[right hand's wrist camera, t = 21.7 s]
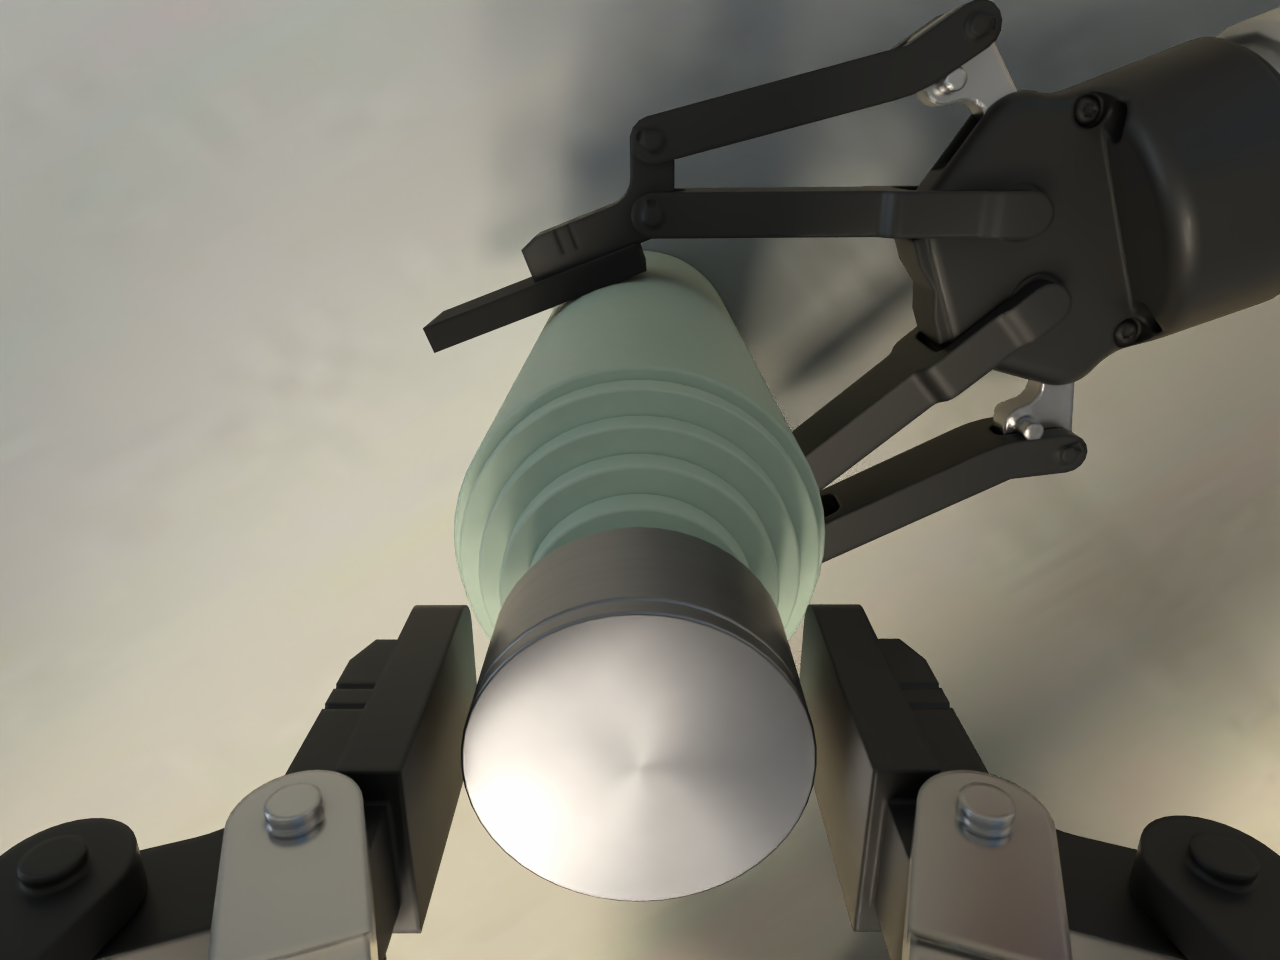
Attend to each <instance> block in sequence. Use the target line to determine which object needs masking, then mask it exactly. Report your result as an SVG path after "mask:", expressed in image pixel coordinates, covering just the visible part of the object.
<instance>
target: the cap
mask: <svg viewBox="0 0 1280 960" xmlns="http://www.w3.org/2000/svg"><path fill="white" fill-rule="evenodd" d="M816 766H817V745H816V739H815V733H814V727H813V723H812V720H811V717H810V714H809V710H808V707H807V703H806V700H805V697H804V693H803V690H802V687H801V683H800V680H799V677H798V673H797V670H796V667H795V663H794V660H793V656H792V653H791V650H790V646H789V643H788V640H787V636H786V633H785V630H784V626H783V623H782V620H781V617H780V614H779V611H778V609H777V607H776V605H775V603H774V601H773V599H772V598H771V596H770V594H769V593H768V591H767V590H766V589H765V587H764V586H763V584H762V583H761V581H760V580H759V579H758V578H757V577H756V576H755V575H754V574H753V573H752V572H751V571H750V570H749V569H748V568H747V567H746V566H745V565H744V564H742V563H741V562H740V561H739V560H737V559H736V558H735V557H734V556H732V555H731V554H729V553H727V552H726V551H724V550H722V549H721V548H719V547H718V546H716V545H714V544H711V543H709V542H707V541H705V540H702V539H700V538H698V537H695V536H691V535H688V534H685V533H681V532H678V531H672V530H667V529H661V528H648V527H629V528H617V529H611V530H606V531H601V532H596V533H593V534H590V535H587V536H584V537H581V538H578V539H576V540H573V541H571V542H569V543H567V544H565V545H563V546H560V547H559V548H557V549H556V550H554V551H552V552H551V553H549V554H548V555H546V556H544V557H543V558H542V559H541V560H539V561H538V562H537V563H536V564H535V565H533V566H532V567H531V568H530V569H529V570H528V571H527V572H526V573H525V574H524V575H523V576H522V577H521V578H520V580H519V581H518V582H517V583H516V584H515V586H514V587H513V589H512V590H511V592H510V593H509V595H508V596H507V598H506V600H505V602H504V604H503V606H502V608H501V610H500V612H499V615H498V618H497V621H496V625H495V628H494V631H493V634H492V638H491V641H490V644H489V647H488V651H487V654H486V657H485V660H484V664H483V667H482V670H481V674H480V677H479V680H478V683H477V687H476V690H475V693H474V696H473V700H472V703H471V706H470V710H469V713H468V716H467V719H466V723H465V726H464V729H463V736H462V743H461V769H462V774H463V780H464V785H465V788H466V791H467V794H468V797H469V800H470V803H471V805H472V807H473V809H474V811H475V813H476V815H477V817H478V819H479V821H480V822H481V824H482V825H483V827H484V828H485V829H486V831H487V832H488V833H489V835H490V836H491V838H492V839H493V840H494V841H495V842H496V843H497V844H498V845H499V846H500V847H501V848H502V849H503V850H504V851H505V852H506V853H507V854H508V855H509V856H511V857H512V858H513V859H514V860H515V861H517V862H518V863H519V864H520V865H522V866H523V867H525V868H526V869H528V870H530V871H531V872H533V873H534V874H536V875H537V876H539V877H541V878H543V879H545V880H547V881H549V882H552V883H554V884H556V885H558V886H561V887H563V888H566V889H569V890H572V891H574V892H577V893H582V894H586V895H590V896H594V897H598V898H605V899H612V900H618V901H658V900H667V899H673V898H680V897H685V896H689V895H693V894H696V893H700V892H704V891H707V890H709V889H712V888H715V887H717V886H720V885H723V884H725V883H727V882H729V881H731V880H733V879H735V878H737V877H739V876H741V875H742V874H744V873H745V872H747V871H748V870H750V869H752V868H753V867H755V866H756V865H758V864H759V863H760V862H761V861H763V860H764V859H765V858H766V857H767V856H769V855H770V854H771V853H772V852H773V851H774V850H775V849H776V848H777V847H778V846H779V845H780V844H781V843H782V842H783V841H784V840H785V838H786V837H787V836H788V835H789V833H790V832H791V831H792V829H793V828H794V826H795V825H796V823H797V822H798V821H799V819H800V817H801V815H802V813H803V811H804V809H805V807H806V805H807V803H808V800H809V796H810V793H811V790H812V787H813V784H814V779H815V772H816Z"/></svg>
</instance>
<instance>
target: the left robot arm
mask: <svg viewBox="0 0 1280 960" xmlns="http://www.w3.org/2000/svg"><path fill="white" fill-rule="evenodd" d="M1001 25H1002V18H1001V14H1000V10H999V9H998V8H997V6H996V5H995V4H994V3H993V2H991V1H989V0H974V1H971V2H969V3H967V4H964V5H961V6H959V7H957V8H955V9H952V10H950V11H948V12H946V13H944V14H942V15H939V16H937V17H936V18H934V19H933V20H931V21H930V22H928V23H927V24H926V25H924V26H923V27H921V28H920V29H919V30H917V31H916V32H914V33H913V34H911V35H910V36H909V37H907V38H906V39H904V40H903V41H902V42H900V43H899V44H897V45H896V46H894V47H893V48H892V49H890V50H888V51H885V52H881V53H877V54H874V55H870V56H866V57H863V58H859V59H855V60H852V61H848V62H844V63H841V64H837V65H833V66H830V67H826V68H822V69H819V70H815V71H811V72H808V73H804V74H800V75H797V76H793V77H789V78H786V79H782V80H778V81H775V82H771V83H767V84H764V85H760V86H757V87H753V88H749V89H746V90H742V91H738V92H735V93H731V94H727V95H724V96H720V97H716V98H713V99H709V100H705V101H702V102H698V103H694V104H691V105H687V106H683V107H680V108H676V109H672V110H669V111H665V112H661V113H658V114H654V115H650V116H647V117H645V118H643V119H641V120H639V121H638V122H637V123H636V125H635V126H634V127H633V129H632V132H631V135H630V185H629V188H628V190H627V192H626V193H625V195H624V196H623V197H622V198H621V199H620V200H618V201H616V202H614V203H612V204H610V205H607V206H605V207H602V208H600V209H597V210H595V211H592V212H590V213H587V214H585V215H582V216H580V217H577V218H575V219H572V220H570V221H567V222H565V223H562V224H560V225H557V226H555V227H552V228H550V229H547V230H545V231H542V232H540V233H539V234H538V235H536V236H535V237H534V238H533V239H532V240H531V241H530V242H529V243H528V244H527V245H526V246H525V247H524V248H523V249H522V250H521V251H522V253H523V255H524V258H525V260H526V263H527V265H528V267H529V270H530V272H531V275H532V277H530V278H527V279H525V280H522V281H520V282H517V283H514V284H512V285H509V286H507V287H504V288H502V289H499V290H497V291H494V292H492V293H489V294H486V295H484V296H481V297H479V298H476V299H474V300H471V301H469V302H466V303H463V304H461V305H458V306H456V307H453V308H451V309H448V310H446V311H443V312H442V313H441V314H440V315H438V316H437V317H436V318H435V319H434V320H432V321H431V322H430V323H429V324H428V325H427V326H425V327H424V328H423V330H424V332H425V334H426V336H427V338H428V340H429V342H430V344H431V347H432V349H433V351H434V353H435V352H438V351H441V350H443V349H446V348H448V347H451V346H454V345H456V344H459V343H461V342H464V341H467V340H469V339H472V338H474V337H477V336H479V335H482V334H485V333H487V332H490V331H492V330H495V329H498V328H500V327H503V326H505V325H508V324H511V323H513V322H516V321H518V320H521V319H524V318H526V317H529V316H531V315H534V314H537V313H539V312H542V311H544V310H547V309H550V308H552V307H555V306H557V305H560V304H562V303H565V302H568V301H570V300H573V299H575V298H578V297H581V296H583V295H586V294H588V293H591V292H593V291H595V290H598V289H601V288H604V287H607V286H609V285H612V284H614V283H617V282H620V281H622V280H625V279H627V278H630V277H632V276H635V275H638V274H640V273H643V272H645V271H647V268H646V258H645V255H644V252H643V250H642V247H641V244H640V243H641V242H644V241H647V240H649V239H652V238H653V239H662V238H792V237H883V238H894V239H895V243H896V246H897V250H898V254H899V258H900V260H901V261H902V263H903V265H904V267H905V268H906V270H907V272H908V273H909V275H910V277H911V278H912V281H913V302H912V308H913V311H914V315H915V319H916V323H917V327H916V328H914V329H913V330H912V331H911V332H909V333H908V334H907V335H906V336H904V337H903V338H902V339H901V340H900V341H898V342H897V343H896V345H895V346H894V347H893V350H892V352H891V353H890V355H889V356H887V357H886V358H885V359H884V360H883V361H881V362H880V363H879V364H877V365H876V366H875V367H874V368H872V369H871V370H870V371H869V372H867V373H866V374H865V375H863V376H862V377H861V378H860V379H858V380H857V381H856V382H855V383H853V384H852V385H851V386H850V387H848V388H847V389H846V390H844V391H843V392H842V393H841V394H839V395H838V396H837V397H836V398H834V399H833V400H832V401H830V402H829V403H828V404H827V405H825V406H824V407H823V408H822V409H820V410H819V411H818V412H816V413H815V414H814V415H813V416H811V417H810V418H809V419H808V420H806V421H805V422H804V423H802V424H801V425H800V426H799V427H797V428H796V429H795V430H794V431H792V433H793V435H794V437H795V439H796V441H797V443H798V445H799V446H800V448H801V450H802V452H803V454H804V456H805V458H806V460H807V462H808V463H809V465H810V467H811V470H812V473H813V475H814V478H815V480H816V483H817V485H818V488H819V492H820V497H821V501H822V506H823V510H824V523H825V543H824V555H823V560H822V563H823V562H825V561H828V560H830V559H832V558H834V557H837V556H839V555H841V554H843V553H846V552H848V551H850V550H852V549H855V548H857V547H859V546H861V545H863V544H866V543H868V542H870V541H872V540H875V539H877V538H879V537H881V536H884V535H886V534H888V533H890V532H893V531H895V530H897V529H899V528H902V527H904V526H906V525H908V524H911V523H913V522H915V521H917V520H920V519H922V518H924V517H926V516H929V515H931V514H933V513H935V512H937V511H940V510H942V509H944V508H946V507H949V506H951V505H953V504H955V503H958V502H960V501H962V500H964V499H967V498H969V497H971V496H973V495H976V494H978V493H980V492H982V491H985V490H987V489H989V488H991V487H994V486H996V485H998V484H1000V483H1003V482H1005V481H1007V480H1009V479H1014V478H1022V477H1031V476H1039V475H1048V474H1056V473H1065V472H1069V471H1072V470H1075V469H1076V468H1077V467H1079V466H1080V465H1081V464H1082V463H1083V461H1084V460H1085V458H1086V454H1087V446H1086V444H1085V442H1084V441H1083V439H1081V438H1080V437H1078V436H1077V435H1075V434H1074V433H1072V429H1071V428H1072V411H1073V393H1074V382H1075V381H1077V380H1079V379H1081V378H1083V377H1084V376H1085V375H1087V374H1088V373H1089V372H1090V371H1091V370H1092V369H1093V368H1094V367H1095V366H1096V365H1097V364H1098V363H1100V362H1101V361H1102V360H1103V359H1105V358H1106V357H1107V356H1109V355H1110V354H1112V353H1114V352H1116V351H1117V350H1120V349H1122V348H1125V347H1129V346H1133V345H1137V344H1141V343H1144V342H1148V341H1152V340H1155V339H1159V338H1162V337H1165V336H1168V335H1171V334H1173V333H1176V332H1179V331H1182V330H1185V329H1188V328H1191V327H1194V326H1196V325H1199V324H1202V323H1205V322H1208V321H1211V320H1214V319H1217V318H1219V317H1222V316H1225V315H1228V314H1231V313H1234V312H1237V311H1240V310H1242V309H1245V308H1248V307H1251V306H1254V305H1257V304H1260V303H1263V302H1265V301H1268V300H1270V299H1272V298H1274V297H1275V296H1277V295H1279V294H1280V7H1278V8H1276V9H1273V10H1270V11H1268V12H1265V13H1262V14H1260V15H1257V16H1255V17H1252V18H1249V19H1247V20H1244V21H1242V22H1239V23H1237V24H1234V25H1231V26H1229V27H1227V28H1226V29H1225V30H1224V31H1222V32H1221V33H1220V34H1219V35H1217V36H1216V37H1203V38H1197V39H1194V40H1191V41H1188V42H1185V43H1183V44H1180V45H1178V46H1175V47H1173V48H1170V49H1167V50H1165V51H1162V52H1160V53H1157V54H1155V55H1152V56H1149V57H1147V58H1144V59H1142V60H1139V61H1137V62H1134V63H1131V64H1129V65H1126V66H1124V67H1121V68H1119V69H1116V70H1114V71H1111V72H1108V73H1106V74H1103V75H1101V76H1098V77H1096V78H1093V79H1090V80H1088V81H1085V82H1083V83H1080V84H1078V85H1075V86H1072V87H1070V88H1067V89H1065V90H1062V91H1059V92H1055V93H1042V92H1036V91H1030V90H1023V91H1017V89H1016V87H1015V85H1014V83H1013V81H1012V79H1011V76H1010V74H1009V72H1008V70H1007V68H1006V66H1005V64H1004V62H1003V59H1002V57H1001V55H1000V53H999V51H998V49H997V47H996V45H995V41H996V39H997V37H998V35H999V33H1000V31H1001ZM912 94H915V95H916V97H917V98H918V99H919V101H920V102H921V103H923V104H924V105H926V106H930V107H938V106H946V105H950V104H953V103H956V102H958V103H961V104H963V105H965V106H966V107H968V109H969V110H970V112H971V113H972V114H971V116H970V117H969V118H968V120H967V121H966V123H965V124H964V125H963V127H962V128H961V129H960V131H959V132H958V133H957V135H956V136H955V137H954V139H953V140H952V142H951V143H950V144H949V146H948V147H947V148H946V150H945V151H944V152H943V154H942V155H941V156H940V158H939V159H938V161H937V162H936V163H935V165H934V166H933V167H932V169H931V170H930V171H929V173H928V174H927V176H926V177H925V178H924V180H923V181H922V182H921V184H920V185H919V186H863V187H781V188H674V159H678V158H682V157H685V156H689V155H693V154H696V153H700V152H704V151H708V150H711V149H715V148H719V147H723V146H726V145H730V144H734V143H737V142H741V141H745V140H749V139H752V138H756V137H760V136H764V135H767V134H771V133H775V132H778V131H782V130H786V129H790V128H793V127H797V126H801V125H805V124H808V123H812V122H816V121H820V120H823V119H827V118H831V117H834V116H838V115H842V114H846V113H849V112H853V111H857V110H861V109H864V108H868V107H872V106H875V105H879V104H883V103H887V102H890V101H894V100H897V99H900V98H903V97H906V96H909V95H912ZM991 370H996V371H1000V372H1003V373H1007V374H1010V375H1014V376H1018V377H1021V378H1025V379H1028V384H1027V386H1026V388H1025V389H1024V390H1023V392H1022V393H1021V394H1019V395H1018V396H1016V397H1014V398H1012V399H1009V400H1007V401H1004V402H1001V403H999V404H998V405H997V406H996V407H995V410H994V417H991V418H986V419H981V420H978V421H974V422H971V423H968V424H965V425H963V426H960V427H958V428H955V429H953V430H951V431H949V432H946V433H944V434H942V435H940V436H938V437H936V438H933V439H931V440H929V441H927V442H925V443H923V444H920V445H918V446H916V447H914V448H912V449H910V450H907V451H905V452H903V453H901V454H899V455H897V456H894V457H892V458H890V459H888V460H886V461H884V462H881V463H879V464H877V465H875V466H873V467H871V468H868V469H866V470H864V471H862V472H860V473H858V474H855V475H853V476H851V477H849V478H847V479H845V480H842V481H840V482H838V483H836V484H834V485H832V486H829V487H827V488H825V487H826V486H827V485H829V484H830V483H831V482H832V481H834V480H835V479H836V478H838V477H839V476H840V475H842V474H843V473H844V472H846V471H847V470H848V469H850V468H851V467H852V466H854V465H855V464H856V463H858V462H859V461H860V460H861V459H863V458H864V457H865V456H867V455H868V454H869V453H871V452H872V451H873V450H875V449H876V448H877V447H879V446H880V445H881V444H883V443H884V442H885V441H887V440H888V439H889V438H891V437H892V436H893V435H894V434H896V433H897V432H898V431H900V430H901V429H902V428H904V427H905V426H906V425H908V424H909V423H910V422H912V421H913V420H914V419H916V418H917V417H918V416H920V415H921V414H922V413H923V412H925V411H926V410H927V409H929V408H930V407H931V406H933V405H934V404H936V403H939V402H944V401H948V400H951V399H953V398H955V397H956V396H958V395H959V394H961V393H962V392H963V391H965V390H966V389H967V388H969V387H970V386H971V385H972V384H974V383H975V382H976V381H978V380H979V379H980V378H982V377H983V376H984V375H986V374H987V373H988V372H990V371H991ZM823 488H825V489H823ZM822 489H823V490H822Z"/></svg>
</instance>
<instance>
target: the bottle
mask: <svg viewBox="0 0 1280 960" xmlns="http://www.w3.org/2000/svg"><path fill="white" fill-rule="evenodd" d="M643 252H644V255H645V258H646V268H647V271H645V272H643V273H640V274H638V275H635V276H632V277H630V278H627V279H625V280H622V281H620V282H617V283H614V284H612V285H609V286H607V287H604V288H601V289H598V290H595V291H593V292H591V293H588V294H586V295H583V296H581V297H578V298H575V299H573V300H570V301H568V302H565V303H562V304H560V305H557V306H555V308H554V310H553V312H552V314H551V316H550V318H549V319H548V321H547V323H546V325H545V327H544V329H543V331H542V332H541V334H540V336H539V338H538V340H537V342H536V343H535V345H534V347H533V349H532V351H531V353H530V355H529V356H528V358H527V360H526V362H525V364H524V366H523V367H522V369H521V371H520V373H519V375H518V377H517V379H516V380H515V382H514V384H513V386H512V388H511V390H510V391H509V393H508V395H507V397H506V399H505V401H504V403H503V404H502V406H501V408H500V410H499V412H498V414H497V415H496V417H495V419H494V421H493V423H492V425H491V427H490V428H489V430H488V432H487V434H486V436H485V438H484V439H483V441H482V443H481V445H480V447H479V449H478V451H477V452H476V454H475V456H474V458H473V460H472V462H471V464H470V466H469V468H468V470H467V472H466V475H465V478H464V481H463V484H462V486H461V489H460V492H459V496H458V502H457V507H456V513H455V526H454V542H455V552H456V560H457V564H458V568H459V572H460V576H461V580H462V583H463V585H464V588H465V591H466V595H467V598H468V600H469V602H470V605H471V607H472V610H473V612H474V615H475V617H476V618H477V620H478V622H479V624H480V625H481V627H482V629H483V630H484V632H485V634H486V635H487V637H488V638H489V639H490V640H491V638H492V634H493V631H494V628H495V625H496V621H497V618H498V615H499V612H500V610H501V608H502V606H503V604H504V602H505V600H506V598H507V596H508V595H509V593H510V592H511V590H512V589H513V587H514V586H515V584H516V583H517V582H518V581H519V580H520V578H521V577H522V576H523V575H524V574H525V573H526V572H527V571H528V570H529V569H530V568H531V567H532V566H533V565H535V564H536V563H537V562H538V561H539V560H541V559H542V558H543V557H544V556H546V555H548V554H549V553H551V552H552V551H554V550H556V549H557V548H559V547H560V546H563V545H565V544H567V543H569V542H571V541H573V540H576V539H578V538H581V537H584V536H587V535H590V534H593V533H596V532H601V531H606V530H611V529H617V528H629V527H648V528H661V529H667V530H672V531H678V532H681V533H685V534H688V535H691V536H695V537H698V538H700V539H702V540H705V541H707V542H709V543H711V544H714V545H716V546H718V547H719V548H721V549H722V550H724V551H726V552H727V553H729V554H731V555H732V556H734V557H735V558H736V559H737V560H739V561H740V562H741V563H742V564H744V565H745V566H746V567H747V568H748V569H749V570H750V571H751V572H752V573H753V574H754V575H755V576H756V577H757V578H758V579H759V580H760V581H761V583H762V584H763V586H764V587H765V589H766V590H767V591H768V593H769V594H770V596H771V598H772V599H773V601H774V603H775V605H776V607H777V609H778V611H779V614H780V617H781V620H782V623H783V626H784V630H785V633H786V636H787V640H788V641H789V639H790V638H791V637H792V635H793V634H794V632H795V631H796V630H797V628H798V626H799V624H800V622H801V620H802V618H803V616H804V615H805V612H806V609H807V606H808V605H809V603H810V600H811V597H812V595H813V592H814V589H815V586H816V583H817V580H818V577H819V574H820V569H821V565H822V560H823V555H824V543H825V523H824V510H823V506H822V501H821V497H820V492H819V488H818V485H817V483H816V480H815V478H814V475H813V473H812V470H811V467H810V465H809V463H808V462H807V460H806V458H805V456H804V454H803V452H802V450H801V448H800V446H799V445H798V443H797V441H796V439H795V437H794V435H793V433H792V431H791V430H790V428H789V426H788V424H787V422H786V420H785V418H784V416H783V415H782V413H781V411H780V409H779V407H778V405H777V403H776V401H775V399H774V398H773V396H772V394H771V392H770V390H769V388H768V386H767V384H766V383H765V381H764V379H763V377H762V375H761V373H760V371H759V369H758V368H757V366H756V364H755V362H754V360H753V358H752V356H751V354H750V352H749V351H748V349H747V347H746V345H745V343H744V341H743V339H742V337H741V336H740V334H739V332H738V330H737V328H736V326H735V324H734V322H733V321H732V319H731V317H730V315H729V313H728V311H727V309H726V307H725V306H724V304H723V302H722V300H721V298H720V296H719V295H718V293H717V291H716V290H715V289H714V287H713V286H712V285H711V283H710V282H709V281H708V280H707V279H706V278H705V277H704V276H703V275H702V274H701V273H700V272H699V271H697V270H696V269H695V268H693V267H692V266H691V265H689V264H687V263H685V262H684V261H682V260H680V259H678V258H675V257H673V256H670V255H667V254H663V253H659V252H653V251H643Z"/></svg>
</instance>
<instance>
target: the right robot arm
mask: <svg viewBox="0 0 1280 960" xmlns="http://www.w3.org/2000/svg"><path fill="white" fill-rule="evenodd" d="M800 683H801V687H802V690H803V693H804V697H805V700H806V703H807V707H808V710H809V714H810V717H811V720H812V723H813V727H814V733H815V739H816V745H817V766H816V772H815V779H814V784H813V785H814V788H815V792H816V796H817V799H818V803H819V807H820V810H821V814H822V818H823V821H824V825H825V829H826V832H827V836H828V840H829V843H830V847H831V851H832V854H833V858H834V862H835V865H836V869H837V873H838V877H839V880H840V884H841V888H842V891H843V895H844V899H845V902H846V906H847V910H848V913H849V917H850V921H851V924H852V928H853V932H882V934H883V937H884V940H885V943H886V947H887V950H888V953H889V956H890V960H1280V856H1279V855H1278V854H1277V853H1275V852H1274V851H1273V850H1271V849H1270V848H1268V847H1267V846H1266V845H1264V844H1263V843H1261V842H1259V841H1258V840H1256V839H1255V838H1253V837H1251V836H1249V835H1247V834H1245V833H1243V832H1241V831H1239V830H1237V829H1235V828H1232V827H1230V826H1227V825H1225V824H1222V823H1219V822H1215V821H1212V820H1208V819H1204V818H1199V817H1192V816H1168V817H1163V818H1159V819H1156V820H1154V821H1153V822H1151V823H1149V824H1148V825H1147V826H1146V827H1145V828H1144V830H1143V832H1142V835H1141V838H1140V841H1139V845H1138V849H1137V850H1136V849H1131V848H1127V847H1123V846H1118V845H1114V844H1110V843H1106V842H1101V841H1097V840H1093V839H1088V838H1084V837H1080V836H1076V835H1072V834H1069V833H1065V832H1062V831H1060V830H1057V829H1056V828H1055V824H1054V821H1053V819H1052V817H1051V815H1050V813H1049V812H1048V811H1047V809H1046V808H1045V807H1044V805H1043V804H1042V803H1041V802H1040V801H1039V800H1038V799H1037V798H1036V797H1034V796H1033V795H1032V794H1030V793H1029V792H1028V791H1026V790H1025V789H1023V788H1022V787H1020V786H1018V785H1017V784H1015V783H1013V782H1011V781H1008V780H1006V779H1004V778H1001V777H998V776H996V775H992V774H989V773H988V771H987V769H986V767H985V766H984V764H983V762H982V760H981V758H980V757H979V755H978V753H977V751H976V749H975V748H974V746H973V744H972V742H971V741H970V739H969V737H968V735H967V733H966V732H965V730H964V728H963V726H962V724H961V723H960V721H959V719H958V717H957V715H956V714H955V712H954V710H953V708H950V703H949V701H948V699H947V697H946V696H945V694H944V692H943V690H942V688H939V683H938V681H937V679H936V678H935V676H934V674H933V672H932V670H931V669H930V667H929V665H928V663H927V661H926V660H925V659H924V658H923V657H922V656H920V655H919V654H918V653H917V652H915V651H914V650H913V649H912V648H910V647H909V646H908V645H906V644H905V643H904V642H903V641H901V640H900V639H878V638H877V636H876V634H875V632H874V630H873V628H872V626H871V624H870V622H869V620H868V618H867V616H866V614H865V611H864V609H863V608H862V606H861V605H808V606H807V609H806V612H805V618H804V630H803V642H802V655H801V667H800ZM476 687H477V682H476V669H475V657H474V645H473V633H472V621H471V614H470V610H469V607H468V606H467V605H416V606H415V607H414V608H413V609H412V611H411V613H410V615H409V617H408V619H407V621H406V623H405V625H404V627H403V629H402V631H401V633H400V635H399V638H398V640H375V641H374V642H373V643H371V644H370V645H369V646H367V647H366V648H365V649H364V650H362V651H361V652H360V653H358V654H357V655H356V656H355V657H353V658H352V659H351V660H350V661H349V663H348V664H347V666H346V668H345V670H344V671H343V673H342V675H341V677H340V679H339V680H338V682H337V684H336V689H333V691H332V693H331V694H330V696H329V698H328V700H327V702H326V703H325V709H322V710H321V712H320V714H319V716H318V717H317V719H316V721H315V723H314V725H313V726H312V728H311V730H310V732H309V733H308V735H307V737H306V739H305V740H304V742H303V744H302V746H301V748H300V749H299V751H298V753H297V755H296V756H295V758H294V760H293V762H292V763H291V765H290V767H289V769H288V771H287V772H286V774H285V775H284V776H282V777H279V778H276V779H274V780H272V781H269V782H267V783H265V784H263V785H262V786H260V787H258V788H257V789H255V790H254V791H252V792H251V793H250V794H248V795H247V796H246V797H244V798H243V799H242V800H241V801H240V802H239V803H238V804H237V805H236V807H235V808H234V809H233V811H232V812H231V813H230V815H229V817H228V819H227V821H226V824H225V828H223V829H220V830H218V831H215V832H212V833H210V834H206V835H203V836H199V837H196V838H191V839H187V840H183V841H178V842H174V843H170V844H166V845H161V846H157V847H153V848H148V849H144V850H140V851H139V848H138V844H137V840H136V837H135V835H134V832H133V831H132V830H131V829H130V828H129V827H128V826H127V825H125V824H123V823H122V822H119V821H116V820H113V819H105V818H89V819H81V820H76V821H71V822H67V823H63V824H60V825H57V826H54V827H51V828H49V829H46V830H44V831H41V832H39V833H37V834H35V835H33V836H31V837H29V838H27V839H25V840H23V841H22V842H20V843H18V844H17V845H15V846H13V847H12V848H11V849H9V850H8V851H6V852H5V853H4V854H2V855H1V856H0V960H387V958H386V951H387V948H388V945H389V942H390V939H391V935H392V933H421V931H422V928H423V924H424V920H425V917H426V913H427V910H428V906H429V902H430V899H431V895H432V892H433V888H434V884H435V881H436V877H437V874H438V870H439V866H440V863H441V859H442V856H443V852H444V849H445V845H446V841H447V838H448V834H449V831H450V827H451V823H452V820H453V816H454V813H455V809H456V805H457V802H458V798H459V795H460V791H461V788H462V784H463V774H462V769H461V743H462V736H463V729H464V726H465V723H466V719H467V716H468V713H469V710H470V706H471V703H472V700H473V696H474V693H475V690H476Z"/></svg>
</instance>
